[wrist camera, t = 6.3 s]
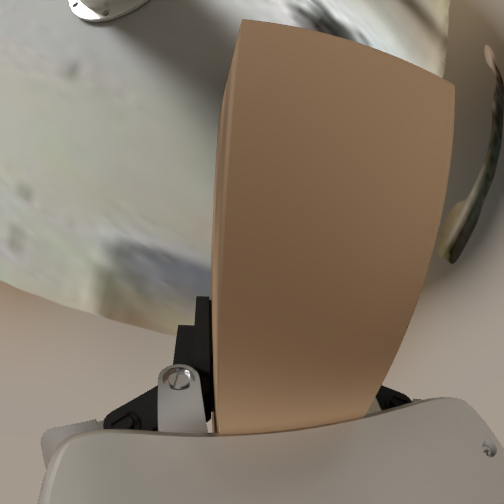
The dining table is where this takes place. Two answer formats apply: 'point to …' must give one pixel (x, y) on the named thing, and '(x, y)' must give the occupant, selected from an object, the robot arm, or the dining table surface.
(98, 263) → the dining table surface
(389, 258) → the tan wooden plank
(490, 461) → the robot arm
